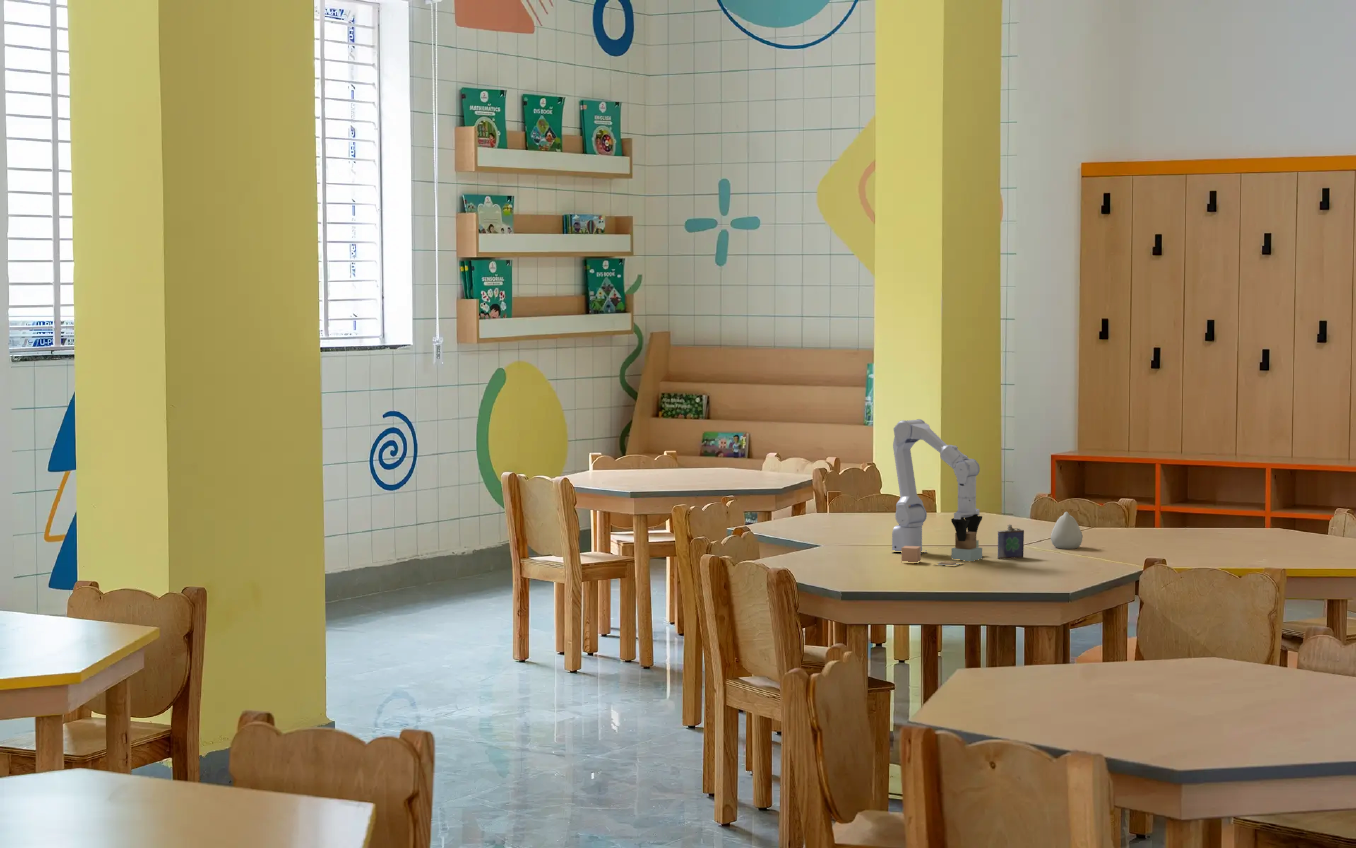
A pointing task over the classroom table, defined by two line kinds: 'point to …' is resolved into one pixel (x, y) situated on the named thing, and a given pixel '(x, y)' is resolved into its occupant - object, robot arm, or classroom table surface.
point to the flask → (1011, 543)
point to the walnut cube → (966, 541)
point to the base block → (967, 554)
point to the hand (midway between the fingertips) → (966, 539)
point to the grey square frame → (947, 563)
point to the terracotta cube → (911, 553)
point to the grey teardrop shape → (1066, 533)
